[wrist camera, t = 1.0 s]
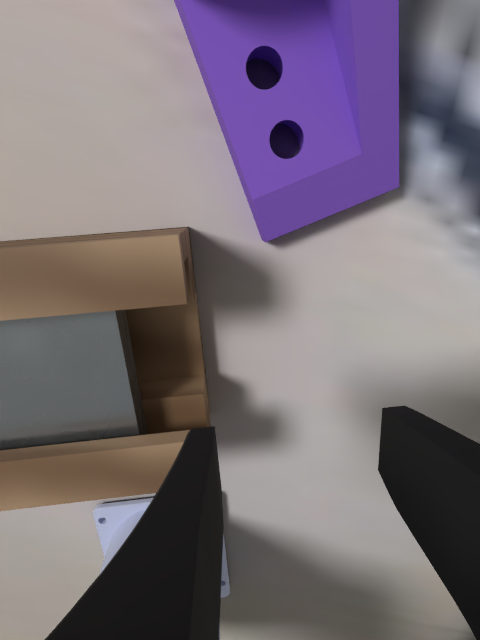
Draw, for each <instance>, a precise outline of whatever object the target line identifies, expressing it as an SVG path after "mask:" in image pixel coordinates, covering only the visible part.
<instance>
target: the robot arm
mask: <svg viewBox="0 0 480 640" xmlns="http://www.w3.org/2000/svg"><path fill="white" fill-rule="evenodd" d="M378 471H379V473H380V475H381V477H382V479H383V481H384V484H385V486H386V488H387V490H388V492H389V494H390V496H391V498H392V500H393V502H394V504H395V506H396V508H397V510H398V511H399V513H400V515H401V516H402V518H403V520H404V521H405V523H406V524H407V526H408V528H409V529H410V531H411V533H412V534H413V536H414V537H415V539H416V541H417V542H418V544H419V545H420V547H421V548H422V550H423V552H424V553H425V555H426V556H427V558H428V559H429V561H430V563H431V564H432V566H433V567H434V569H435V571H436V572H437V574H438V575H439V577H440V578H441V580H442V582H443V583H444V585H445V586H446V588H447V590H448V591H449V593H450V594H451V596H452V597H453V599H454V601H455V602H456V604H457V606H458V607H459V609H460V611H461V613H462V614H463V616H464V618H465V619H466V621H467V623H468V624H469V626H470V628H471V630H472V632H473V634H474V636H475V637H476V639H477V640H480V444H479V443H477V442H475V441H473V440H471V439H469V438H467V437H465V436H463V435H461V434H459V433H458V432H456V431H454V430H452V429H450V428H448V427H446V426H444V425H442V424H440V423H439V422H437V421H435V420H433V419H431V418H429V417H427V416H425V415H423V414H421V413H419V412H417V411H415V410H413V409H411V408H408V407H406V406H398V407H389V408H382V422H381V437H380V451H379V466H378ZM93 516H94V520H95V524H96V527H97V531H98V535H99V538H100V542H101V546H102V550H103V553H104V557H105V558H104V561H103V564H102V568H101V571H100V574H99V576H98V577H97V579H96V580H95V581H94V582H93V583H92V585H91V586H90V587H89V588H88V590H87V591H86V592H85V593H84V594H83V596H82V597H81V598H80V599H79V601H78V602H77V603H76V604H75V605H74V607H73V608H72V609H71V610H70V611H69V613H68V614H67V615H66V616H65V617H64V618H63V620H62V621H61V622H60V623H59V624H58V625H57V627H56V628H55V629H54V630H53V631H52V632H51V633H50V634H49V636H48V637H47V638H46V639H45V640H220V599H221V598H224V597H227V596H228V595H229V594H230V584H229V575H228V567H227V558H226V549H225V541H224V532H223V509H222V490H221V480H220V471H219V462H218V453H217V444H216V435H215V427H204V428H195V429H191V430H190V431H189V432H188V433H187V436H186V438H185V440H184V443H183V445H182V447H181V449H180V451H179V453H178V455H177V457H176V459H175V461H174V463H173V465H172V467H171V469H170V470H169V472H168V474H167V476H166V477H165V479H164V481H163V483H162V485H161V486H160V488H159V490H158V491H157V493H156V495H155V496H154V498H147V499H139V500H131V501H122V502H114V503H105V504H99V505H97V506H96V507H95V509H94V512H93Z"/></svg>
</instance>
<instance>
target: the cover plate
mask: <svg viewBox="0 0 480 640" xmlns="http://www.w3.org/2000/svg"><path fill="white" fill-rule="evenodd" d="M146 433H147V425H146V419H145V414H144V408H143V403H142V398H141V392H140V387H139V381H138V376H137V371H136V365H135V360H134V354H133V349H132V344H131V338H130V333H129V327H128V322H127V317H126V311H125V310H116V311H104V312H93V313H82V314H71V315H60V316H48V317H37V318H26V319H15V320H4V321H0V450H9V449H19V448H28V447H37V446H46V445H55V444H65V443H74V442H83V441H92V440H101V439H111V438H120V437H129V436H138V435H146Z"/></svg>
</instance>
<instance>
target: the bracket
mask: <svg viewBox="0 0 480 640" xmlns="http://www.w3.org/2000/svg"><path fill="white" fill-rule="evenodd" d="M174 1H175V4H176V7H177V9H178V12H179V15H180V18H181V20H182V23H183V26H184V28H185V31H186V34H187V37H188V39H189V42H190V45H191V48H192V50H193V53H194V56H195V58H196V61H197V64H198V67H199V69H200V72H201V75H202V78H203V80H204V83H205V86H206V88H207V91H208V94H209V97H210V99H211V102H212V105H213V108H214V110H215V113H216V116H217V118H218V121H219V124H220V127H221V129H222V132H223V135H224V138H225V140H226V143H227V146H228V148H229V151H230V154H231V157H232V159H233V162H234V165H235V168H236V170H237V173H238V176H239V178H240V181H241V184H242V187H243V189H244V192H245V195H246V198H247V200H248V203H249V206H250V208H251V211H252V214H253V217H254V219H255V222H256V225H257V228H258V230H259V233H260V236H261V238H262V240H263V241H264V242H267V241H270V240H272V239H274V238H277V237H279V236H282V235H284V234H287V233H289V232H291V231H294V230H296V229H299V228H301V227H304V226H306V225H308V224H311V223H313V222H316V221H318V220H320V219H323V218H325V217H328V216H330V215H333V214H335V213H337V212H340V211H342V210H345V209H347V208H350V207H352V206H354V205H357V204H359V203H362V202H364V201H366V200H369V199H371V198H374V197H376V196H379V195H381V194H383V193H386V192H388V191H391V190H393V189H396V188H398V187H399V0H174ZM252 59H263V60H266V61H268V62H269V63H270V64H272V65H273V67H274V68H275V69H276V71H277V73H278V75H279V79H280V80H279V82H278V83H277V84H276V85H275V86H274V87H272V88H270V89H267V90H262V89H259V88H256V87H255V86H254V85H253V84H252V83H251V82H250V81H249V79H248V77H247V73H246V62H248V61H250V60H252ZM276 124H284V125H286V126H288V127H290V128H291V129H292V130H293V131H294V132H295V134H296V136H297V138H298V142H299V152H298V154H297V155H296V156H295V157H293V158H290V159H283V158H280V157H278V156H277V155H275V154H274V152H273V151H272V149H271V147H270V142H269V138H270V133H271V131H272V129H273V127H274V126H275V125H276Z"/></svg>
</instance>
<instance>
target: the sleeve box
mask: <svg viewBox="0 0 480 640" xmlns="http://www.w3.org/2000/svg"><path fill="white" fill-rule="evenodd" d="M116 310H125V311H126V317H127V322H128V327H129V333H130V338H131V344H132V349H133V354H134V360H135V365H136V371H137V376H138V381H139V387H140V392H141V398H142V403H143V408H144V414H145V419H146V425H147V433H146V435H138V436H129V437H120V438H111V439H101V440H92V441H83V442H74V443H65V444H55V445H46V446H37V447H28V448H19V449H9V450H0V511H5V510H14V509H22V508H31V507H39V506H48V505H56V504H65V503H73V502H82V501H90V500H99V499H107V498H116V497H124V496H133V495H141V494H150V493H157V491H158V490H159V488H160V486H161V485H162V483H163V481H164V479H165V477H166V476H167V474H168V472H169V470H170V469H171V467H172V465H173V463H174V461H175V459H176V457H177V455H178V453H179V451H180V449H181V447H182V445H183V443H184V440H185V438H186V436H187V433H188V432H189V431H190V430H191V429H195V428H204V427H210V408H209V399H208V390H207V381H206V373H205V364H204V355H203V347H202V338H201V329H200V320H199V312H198V303H197V294H196V286H195V277H194V268H193V259H192V251H191V242H190V233H189V227H181V228H168V229H155V230H142V231H130V232H117V233H104V234H91V235H78V236H65V237H52V238H39V239H27V240H14V241H1V242H0V321H4V320H15V319H26V318H37V317H48V316H60V315H71V314H82V313H93V312H104V311H116Z"/></svg>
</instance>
